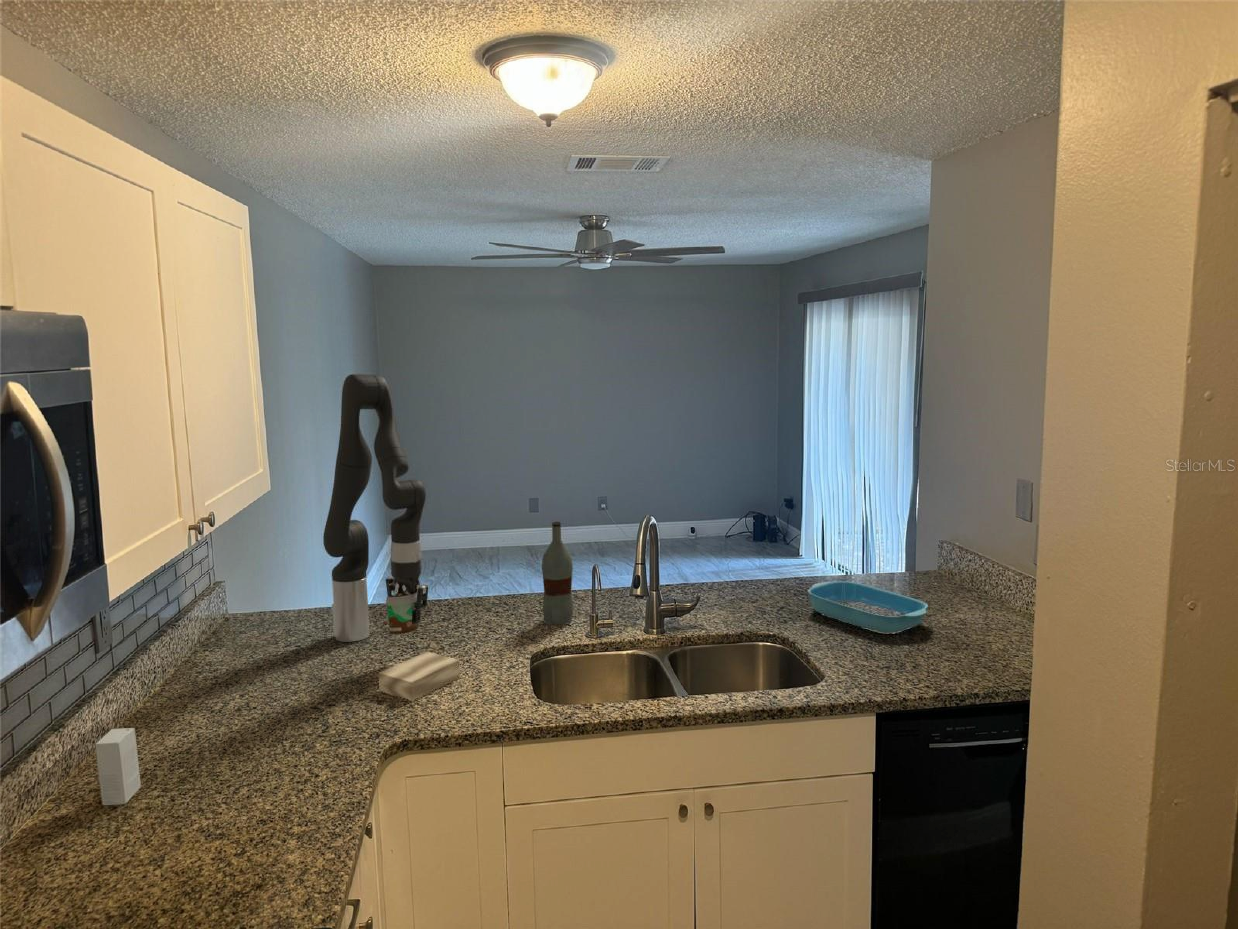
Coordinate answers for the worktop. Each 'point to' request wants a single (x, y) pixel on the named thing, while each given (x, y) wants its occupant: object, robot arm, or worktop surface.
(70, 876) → the worktop surface
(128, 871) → the worktop surface
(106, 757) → the skincare box
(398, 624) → the food container
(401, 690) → the maple block
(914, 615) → the casserole dish
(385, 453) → the robot arm
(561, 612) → the bottle
